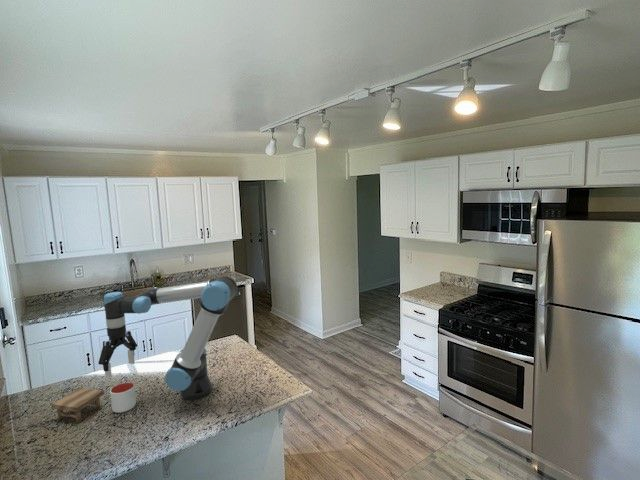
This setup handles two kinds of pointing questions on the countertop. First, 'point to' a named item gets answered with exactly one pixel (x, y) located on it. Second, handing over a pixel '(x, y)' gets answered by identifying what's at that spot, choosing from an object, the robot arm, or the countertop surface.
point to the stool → (77, 402)
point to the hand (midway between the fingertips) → (120, 370)
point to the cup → (123, 397)
